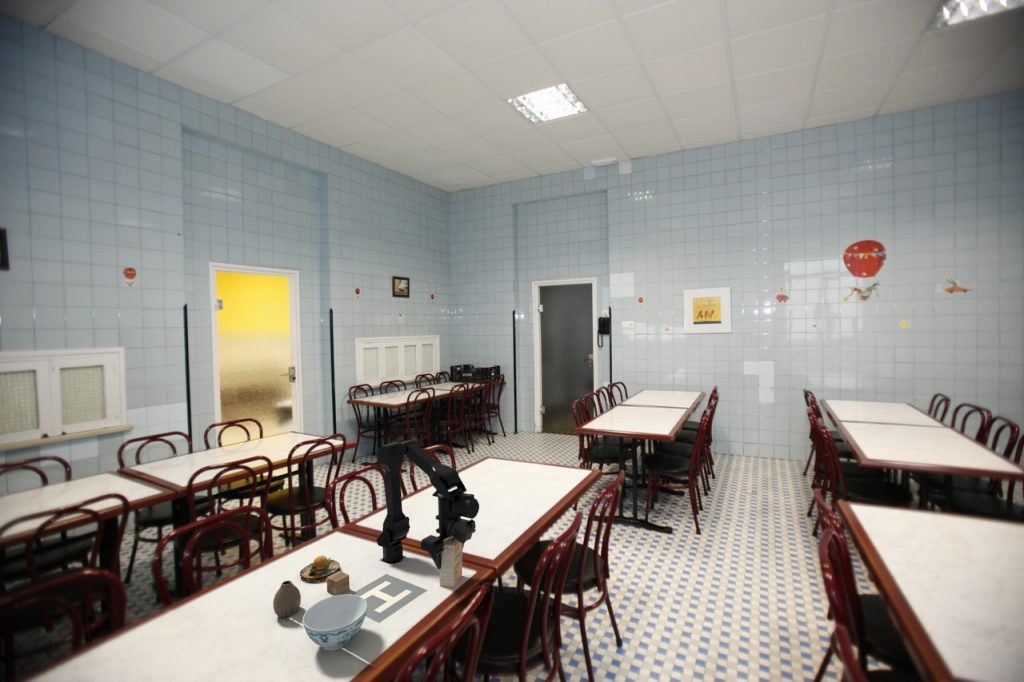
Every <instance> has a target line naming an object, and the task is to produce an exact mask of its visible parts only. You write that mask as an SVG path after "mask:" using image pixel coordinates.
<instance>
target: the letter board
mask: <svg viewBox="0 0 1024 682" xmlns="http://www.w3.org/2000/svg"><path fill="white" fill-rule="evenodd" d="M427 591H428V589H425V588H423V587H421V586H419V585H415V584H413V583H411V582H408V581H405V580H403V579H401V578H397V577H395V576H393V575H390V574H388V573H385V574H384V575H382V576H380V577H378V578H377V579H375V580H374V581H373V580H372V581H371V582H370V583H368V584H367V585H365V586H362V587H361V588H359V589H357V590H356V591H354V592H352V593H351V594H352V595H357V596H360V597H362V598H364V599H365V601H366V602H367V611H366V615H365V618H368V619H370V620H372V621H374V622H376V623H378V624H380V623H381V622H383V621H384V620H385V619H387V618H389V617H391V616H392V615H393V614H395V613H396V612H397V611H399V610H401V609H402V608H403V607H405V606H406V605H408V604H409V603H411V602H413V601H414V600H415V599H417V598H418V597H420V596H421V595H423V594H425V593H426V592H427Z"/></svg>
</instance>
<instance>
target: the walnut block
mask: <svg viewBox="0 0 1024 682" xmlns="http://www.w3.org/2000/svg"><path fill="white" fill-rule="evenodd" d="M349 590H350V575H349V574H348V573H346V572H344V571H341V570H340V571H338V572H337V573H335V574H333V575H331V576H329V577H327V580H326V592H327V593H328V594H330V595H333V596H336V595H343V594H344V593H345V592H347V591H349Z"/></svg>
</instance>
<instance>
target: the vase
mask: <svg viewBox="0 0 1024 682" xmlns="http://www.w3.org/2000/svg"><path fill="white" fill-rule="evenodd" d="M301 595H302V594H301V592H300V589H299V588H298V586H296V585H295V584H294V583H293V582H292V580H284V581H282V582H281V584H280V587H279V588H278V590H277V591H276V592H275V594H274V597H273V601H272V605H273V606H272V607H273V611H274V613H275V614H276V616H277V617H279V618H281V619H288V618H290V616H293V615H294V614H296V613H297V612H298V610H299V609H300V607H301V604H302V603H301V601H302V596H301Z"/></svg>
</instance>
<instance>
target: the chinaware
mask: <svg viewBox="0 0 1024 682" xmlns="http://www.w3.org/2000/svg"><path fill="white" fill-rule="evenodd" d="M366 611H367V602H366V601H365V599H364V598H362V597H360V596H357V595H352V593H350V594H348V593H347V594H344V593H342V594H340V595H336V596H335V595H333V596H329V597H327V598H324V599H321V600H319V601H317V602H316V603H314V604H313V605H312V606H310V607H309V608H308V609H307V610H306V611H305V613H304V615H303V616H302V625H303V628H304V630H305V632H306V634H307V637H309V639H310V640H311V641H312V642H313V643H315V644H316V645H318V646H320V647H322V648H323V649H324V650H326V651H329V652H330V651H337V650H341V649H343V648H344V645H345V644H347V643H349V641H350V640H351V639H353V638H354V637H355V635H357V634H358V632H359V630H360V629H361V627H362V626H363V624H364V621H365V619H366V616H365V615H366Z"/></svg>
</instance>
